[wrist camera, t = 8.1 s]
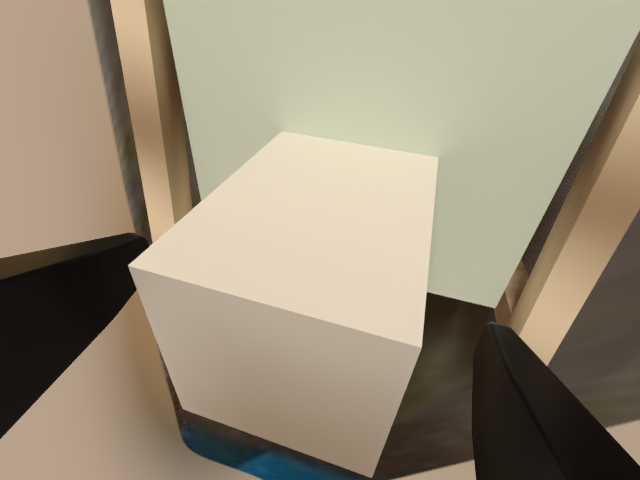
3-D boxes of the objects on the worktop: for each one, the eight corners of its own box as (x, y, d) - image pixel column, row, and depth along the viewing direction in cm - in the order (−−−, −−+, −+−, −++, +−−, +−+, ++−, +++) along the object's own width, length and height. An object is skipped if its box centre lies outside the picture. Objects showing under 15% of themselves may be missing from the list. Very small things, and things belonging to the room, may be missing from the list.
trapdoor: (171, -75, 10) (147, -80, 9) (665, -63, 7) (691, -69, 7) (220, 227, 16) (208, 239, 15) (493, 290, 14) (495, 308, 13)
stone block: (438, 157, 10) (421, 347, 5) (404, 278, 13) (372, 477, 8) (281, 131, 11) (127, 266, 6) (283, 249, 14) (182, 408, 9)
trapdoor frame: (237, -77, 15) (78, -182, 9) (637, -68, 12) (893, -225, 5) (244, 203, 22) (157, 269, 15) (504, 257, 19) (542, 372, 12)
